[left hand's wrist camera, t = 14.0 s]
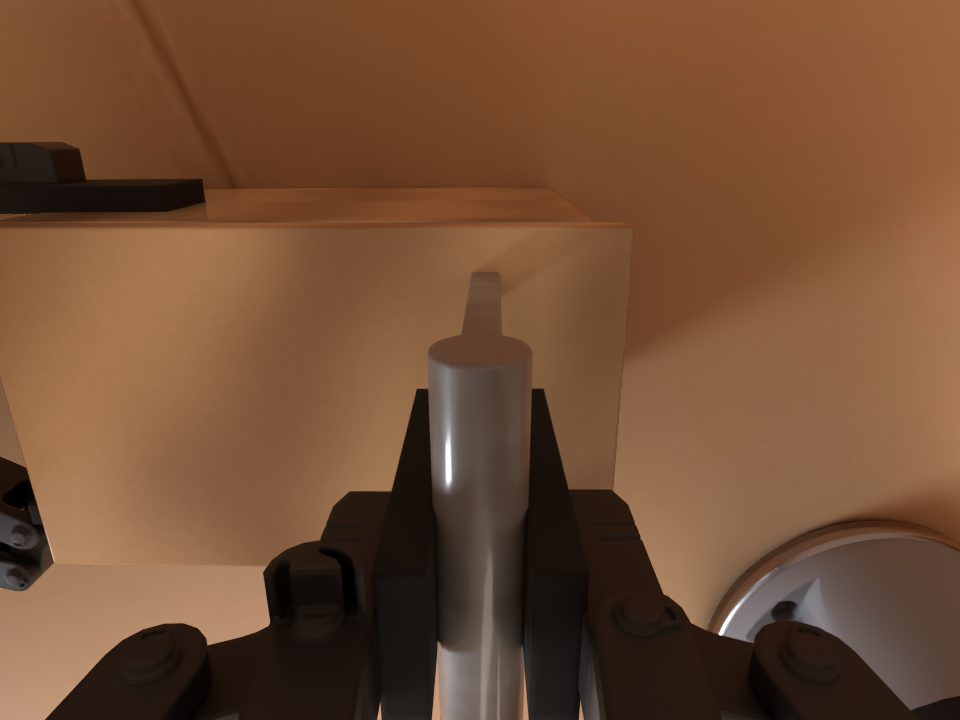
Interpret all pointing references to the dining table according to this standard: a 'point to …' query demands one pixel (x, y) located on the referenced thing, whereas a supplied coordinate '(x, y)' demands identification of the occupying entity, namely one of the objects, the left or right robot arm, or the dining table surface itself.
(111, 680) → the left robot arm
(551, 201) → the chest
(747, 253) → the dining table surface
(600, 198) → the dining table surface
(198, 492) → the lid
